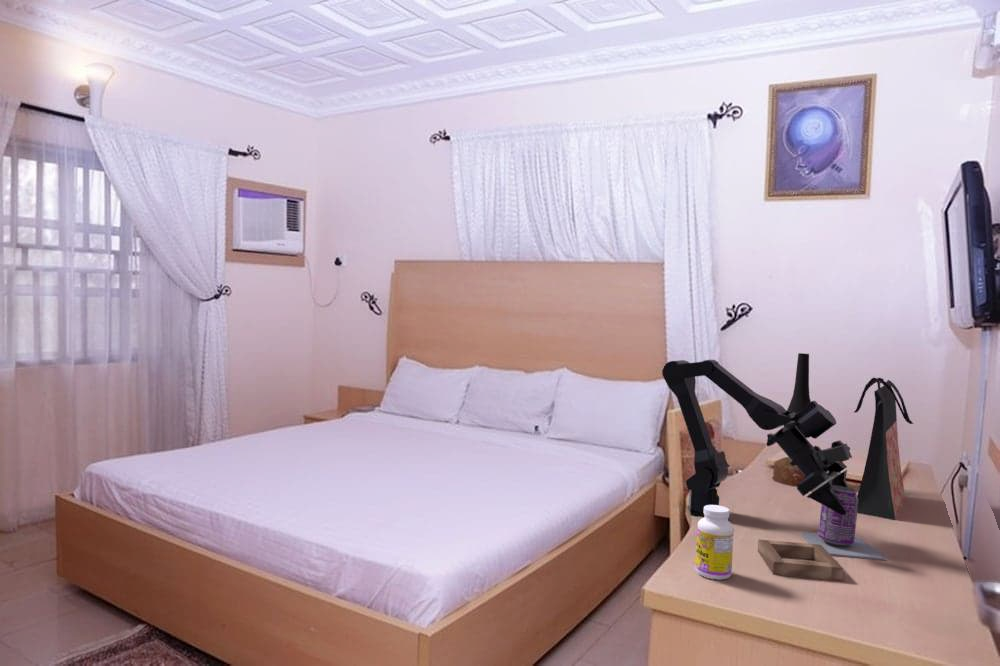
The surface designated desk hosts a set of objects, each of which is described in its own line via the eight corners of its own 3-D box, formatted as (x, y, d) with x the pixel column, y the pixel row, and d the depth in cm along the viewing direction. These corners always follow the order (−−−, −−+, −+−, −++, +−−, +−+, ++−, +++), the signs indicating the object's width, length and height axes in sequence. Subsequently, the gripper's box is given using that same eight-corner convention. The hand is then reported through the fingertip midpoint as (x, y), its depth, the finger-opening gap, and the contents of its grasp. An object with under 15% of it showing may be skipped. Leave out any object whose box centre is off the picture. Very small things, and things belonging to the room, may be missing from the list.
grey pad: (819, 554, 139) (819, 552, 139) (800, 533, 152) (800, 532, 152) (885, 560, 138) (885, 558, 138) (860, 538, 150) (860, 537, 150)
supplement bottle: (689, 567, 130) (693, 502, 129) (722, 567, 130) (725, 503, 130) (703, 581, 123) (706, 513, 123) (737, 581, 124) (740, 513, 123)
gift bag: (855, 490, 194) (862, 371, 193) (912, 499, 186) (920, 376, 184) (837, 512, 170) (845, 378, 169) (901, 525, 162) (910, 383, 160)
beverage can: (837, 537, 150) (842, 485, 150) (861, 548, 143) (867, 493, 143) (810, 536, 148) (816, 483, 148) (833, 547, 141) (839, 491, 141)
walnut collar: (773, 574, 128) (773, 561, 128) (757, 550, 140) (758, 539, 140) (842, 580, 126) (842, 567, 126) (820, 556, 138) (820, 544, 138)
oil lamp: (779, 484, 210) (766, 360, 217) (831, 485, 201) (816, 355, 208) (767, 487, 199) (754, 356, 206) (822, 488, 190) (807, 351, 197)
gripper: (816, 434, 139) (871, 497, 133) (839, 425, 154) (890, 481, 147) (775, 464, 145) (827, 526, 138) (801, 452, 159) (849, 508, 152)
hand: (850, 509), depth 144 cm, fingers open, 9 cm apart
